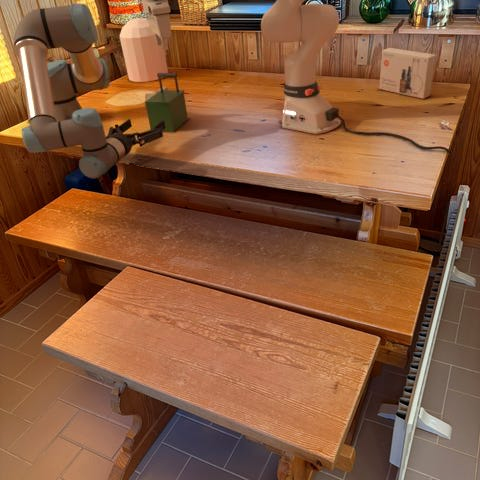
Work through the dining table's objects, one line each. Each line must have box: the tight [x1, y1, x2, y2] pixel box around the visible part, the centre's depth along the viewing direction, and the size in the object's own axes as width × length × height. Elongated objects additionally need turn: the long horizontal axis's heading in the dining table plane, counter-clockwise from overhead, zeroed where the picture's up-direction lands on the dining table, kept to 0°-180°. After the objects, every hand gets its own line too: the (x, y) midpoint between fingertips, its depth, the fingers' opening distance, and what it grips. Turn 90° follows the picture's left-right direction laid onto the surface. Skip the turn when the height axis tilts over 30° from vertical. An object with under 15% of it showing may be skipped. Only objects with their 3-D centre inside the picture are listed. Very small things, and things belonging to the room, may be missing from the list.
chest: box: [145, 93, 189, 133], centre depth 178 cm, size 13×10×10 cm
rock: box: [144, 85, 169, 101], centre depth 206 cm, size 11×6×10 cm
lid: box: [144, 72, 185, 105], centre depth 173 cm, size 14×10×8 cm
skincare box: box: [378, 47, 437, 100], centre depth 184 cm, size 21×6×16 cm, turn 40°
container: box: [119, 17, 169, 83], centre depth 235 cm, size 21×21×28 cm
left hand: (146, 123), depth 164 cm, fingers open, 13 cm apart
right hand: (162, 47), depth 169 cm, fingers open, 8 cm apart
